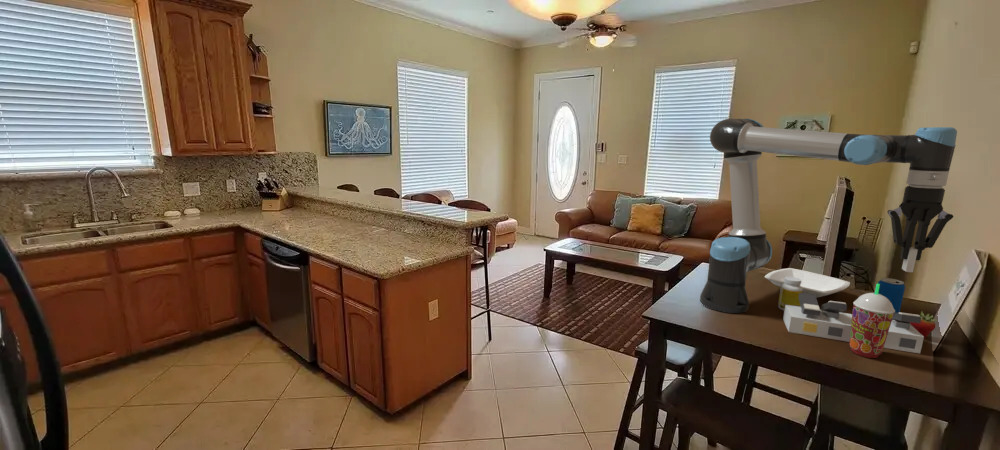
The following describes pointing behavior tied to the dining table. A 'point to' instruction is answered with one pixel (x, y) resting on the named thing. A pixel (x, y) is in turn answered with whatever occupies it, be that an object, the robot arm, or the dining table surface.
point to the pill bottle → (790, 292)
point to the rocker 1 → (809, 304)
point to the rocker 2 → (834, 306)
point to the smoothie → (870, 324)
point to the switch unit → (849, 328)
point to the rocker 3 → (907, 317)
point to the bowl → (809, 281)
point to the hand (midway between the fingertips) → (907, 270)
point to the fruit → (924, 325)
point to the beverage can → (892, 291)
